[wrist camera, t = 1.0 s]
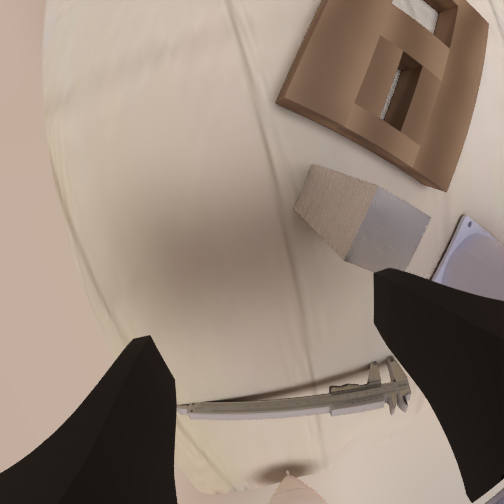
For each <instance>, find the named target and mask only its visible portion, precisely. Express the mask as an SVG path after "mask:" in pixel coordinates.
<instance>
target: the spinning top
mask: <svg viewBox="0 0 504 504" xmlns="http://www.w3.org/2000/svg"><path fill="white" fill-rule="evenodd" d="M286 474H287V476H286V477H285V478H284V479H283V480H282V481H281V483H280V484H279V486H278V488H277V489H276V491H275V492H274V494H273V496H272V497H271V499H270V501H269V504H327V503H326V501H325V500H324V499H323V498H322V497H321V496H320V495H319V494H318V493H317V492H316V491H315V490H314V489H312V488H311V487H309V486H308V485H306V484H305V483H304V482H302V481H300V480H299V479H297V478H295V477H294V476H292V475H289V470H286Z"/></svg>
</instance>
